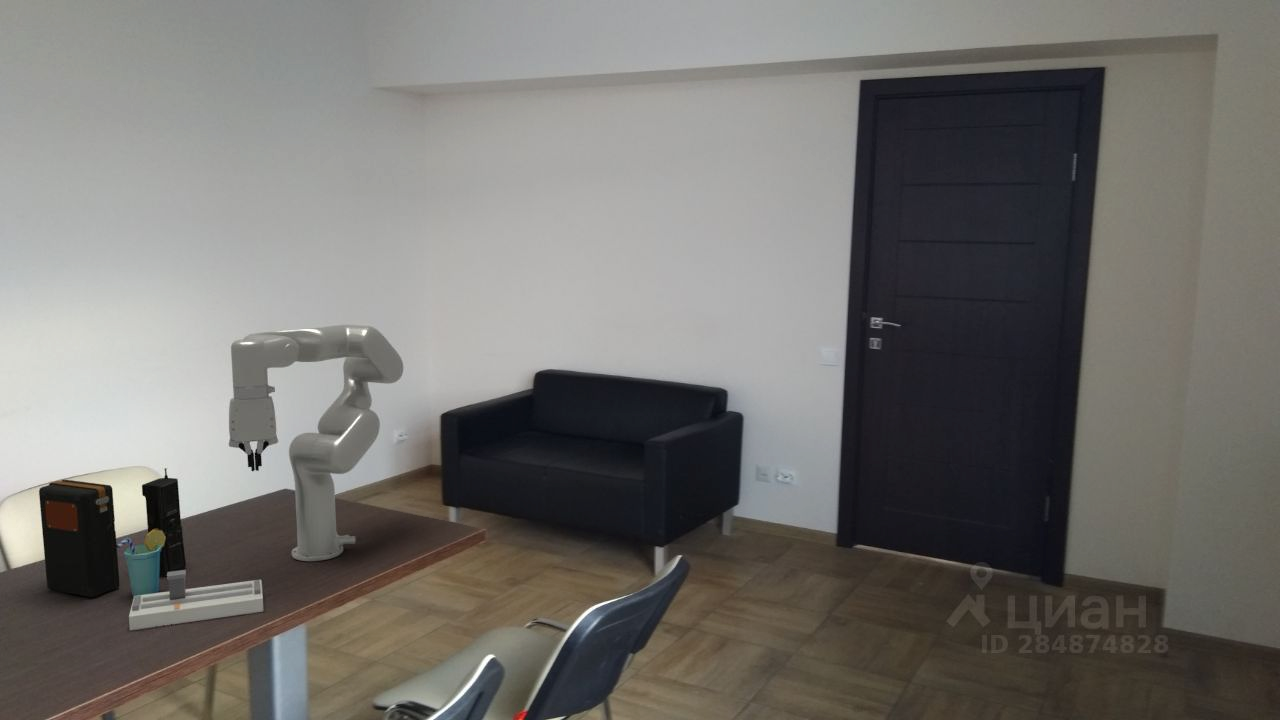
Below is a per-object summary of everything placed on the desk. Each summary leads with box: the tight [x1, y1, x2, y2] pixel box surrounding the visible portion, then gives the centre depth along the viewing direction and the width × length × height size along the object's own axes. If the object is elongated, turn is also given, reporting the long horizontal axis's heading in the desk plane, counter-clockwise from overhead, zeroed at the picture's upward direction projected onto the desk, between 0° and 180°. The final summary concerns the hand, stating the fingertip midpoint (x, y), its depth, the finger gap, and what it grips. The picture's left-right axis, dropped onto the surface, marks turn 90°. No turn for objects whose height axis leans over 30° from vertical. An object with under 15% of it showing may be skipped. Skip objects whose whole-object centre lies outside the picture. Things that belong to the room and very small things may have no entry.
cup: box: [116, 529, 166, 598], centre depth 216 cm, size 14×8×15 cm, turn 171°
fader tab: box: [166, 569, 187, 600], centre depth 206 cm, size 4×3×6 cm
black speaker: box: [38, 479, 121, 598], centre depth 218 cm, size 16×9×25 cm, turn 71°
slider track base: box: [128, 579, 264, 631], centre depth 209 cm, size 26×12×4 cm, turn 113°
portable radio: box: [141, 468, 187, 577], centre depth 229 cm, size 8×6×25 cm
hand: (255, 469), depth 223 cm, fingers closed
